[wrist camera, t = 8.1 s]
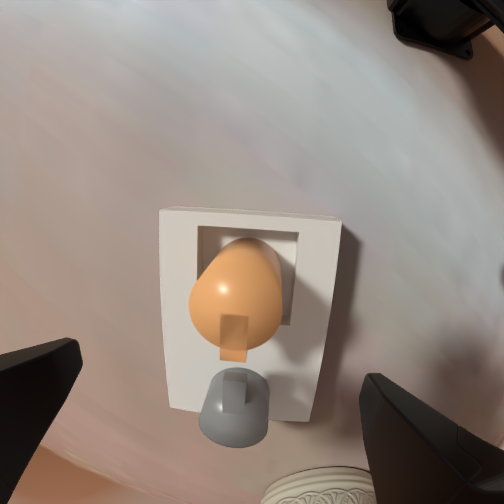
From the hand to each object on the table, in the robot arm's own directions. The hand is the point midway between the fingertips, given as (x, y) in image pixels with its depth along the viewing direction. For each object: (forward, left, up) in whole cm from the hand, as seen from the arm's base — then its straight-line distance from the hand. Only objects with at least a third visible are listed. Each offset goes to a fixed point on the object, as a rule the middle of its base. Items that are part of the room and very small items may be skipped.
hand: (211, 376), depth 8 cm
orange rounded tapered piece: (0, 0, -11) cm, 11 cm away
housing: (0, +3, -12) cm, 12 cm away
